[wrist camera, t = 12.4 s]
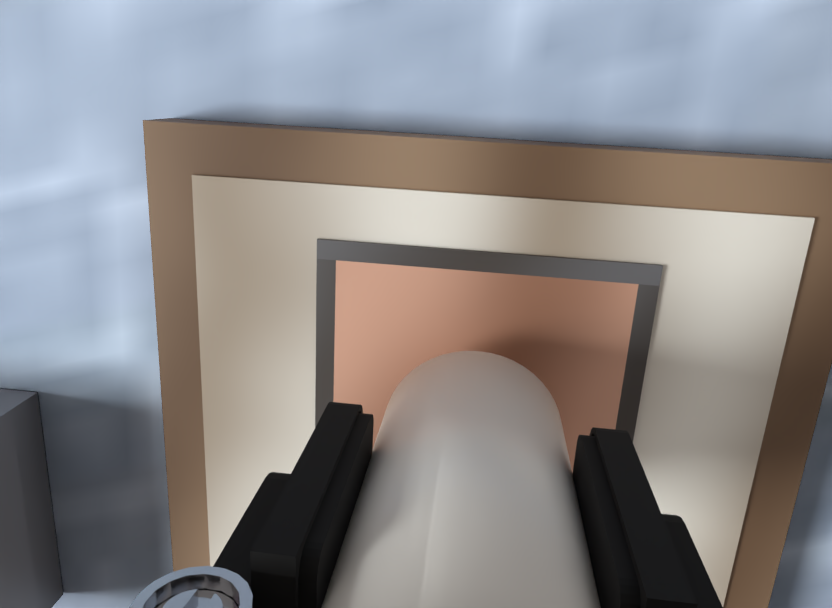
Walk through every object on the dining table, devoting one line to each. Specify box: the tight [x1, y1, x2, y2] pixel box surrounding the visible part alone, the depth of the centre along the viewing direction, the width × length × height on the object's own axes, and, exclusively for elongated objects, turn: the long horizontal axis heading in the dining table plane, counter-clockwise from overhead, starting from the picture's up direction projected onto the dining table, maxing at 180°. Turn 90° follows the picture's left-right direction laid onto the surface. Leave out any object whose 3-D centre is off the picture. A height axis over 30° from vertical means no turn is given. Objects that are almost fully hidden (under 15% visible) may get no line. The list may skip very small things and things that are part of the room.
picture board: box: [143, 118, 832, 608], centre depth 16 cm, size 14×20×1 cm
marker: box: [321, 351, 601, 608], centre depth 9 cm, size 4×4×9 cm
